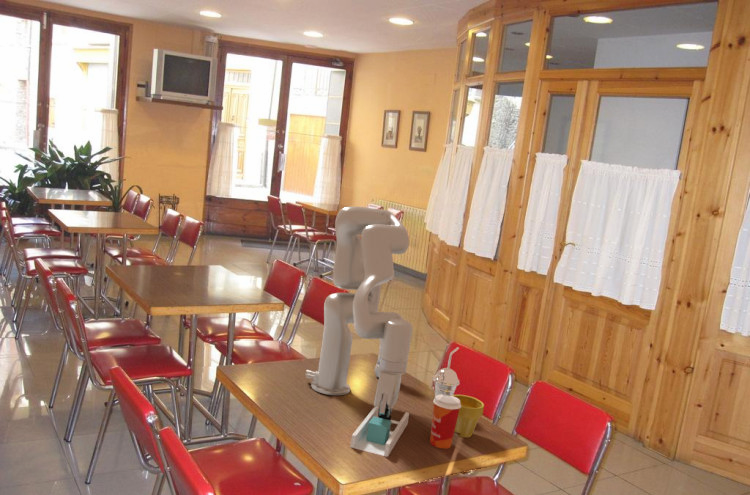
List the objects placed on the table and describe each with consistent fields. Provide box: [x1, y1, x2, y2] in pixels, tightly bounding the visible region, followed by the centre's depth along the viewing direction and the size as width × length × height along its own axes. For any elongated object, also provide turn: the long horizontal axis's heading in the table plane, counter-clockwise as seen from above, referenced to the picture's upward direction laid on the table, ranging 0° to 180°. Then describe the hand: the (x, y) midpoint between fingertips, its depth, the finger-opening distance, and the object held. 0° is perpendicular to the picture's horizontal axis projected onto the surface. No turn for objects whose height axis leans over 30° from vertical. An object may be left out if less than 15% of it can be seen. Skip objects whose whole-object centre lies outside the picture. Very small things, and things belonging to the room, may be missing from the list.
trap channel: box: [349, 405, 410, 458], centre depth 178 cm, size 10×24×4 cm, turn 165°
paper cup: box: [429, 394, 461, 449], centre depth 177 cm, size 8×8×14 cm
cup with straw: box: [432, 346, 460, 398], centre depth 205 cm, size 8×9×20 cm
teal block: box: [366, 416, 392, 445], centre depth 175 cm, size 5×5×5 cm
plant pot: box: [452, 394, 485, 438], centre depth 190 cm, size 10×10×10 cm
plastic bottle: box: [374, 339, 383, 378], centre depth 228 cm, size 6×7×20 cm
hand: (383, 428), depth 179 cm, fingers closed
